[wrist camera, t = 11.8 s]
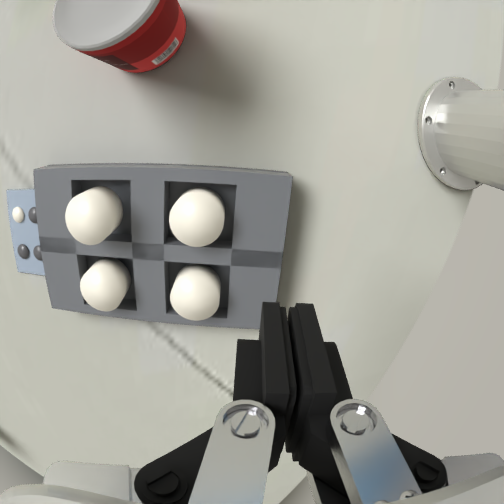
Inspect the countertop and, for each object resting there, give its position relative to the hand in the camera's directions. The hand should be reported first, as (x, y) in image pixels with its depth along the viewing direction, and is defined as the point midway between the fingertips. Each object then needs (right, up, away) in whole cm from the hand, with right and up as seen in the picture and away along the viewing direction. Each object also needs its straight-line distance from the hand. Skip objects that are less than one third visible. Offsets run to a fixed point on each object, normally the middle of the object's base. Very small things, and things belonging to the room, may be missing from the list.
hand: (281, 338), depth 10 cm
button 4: (-6, 0, +20) cm, 21 cm away
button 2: (-15, 0, +19) cm, 24 cm away
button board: (-14, +4, +19) cm, 24 cm away
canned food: (-11, +23, +12) cm, 28 cm away
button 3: (-6, +7, +17) cm, 19 cm away
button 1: (-14, +7, +15) cm, 22 cm away
